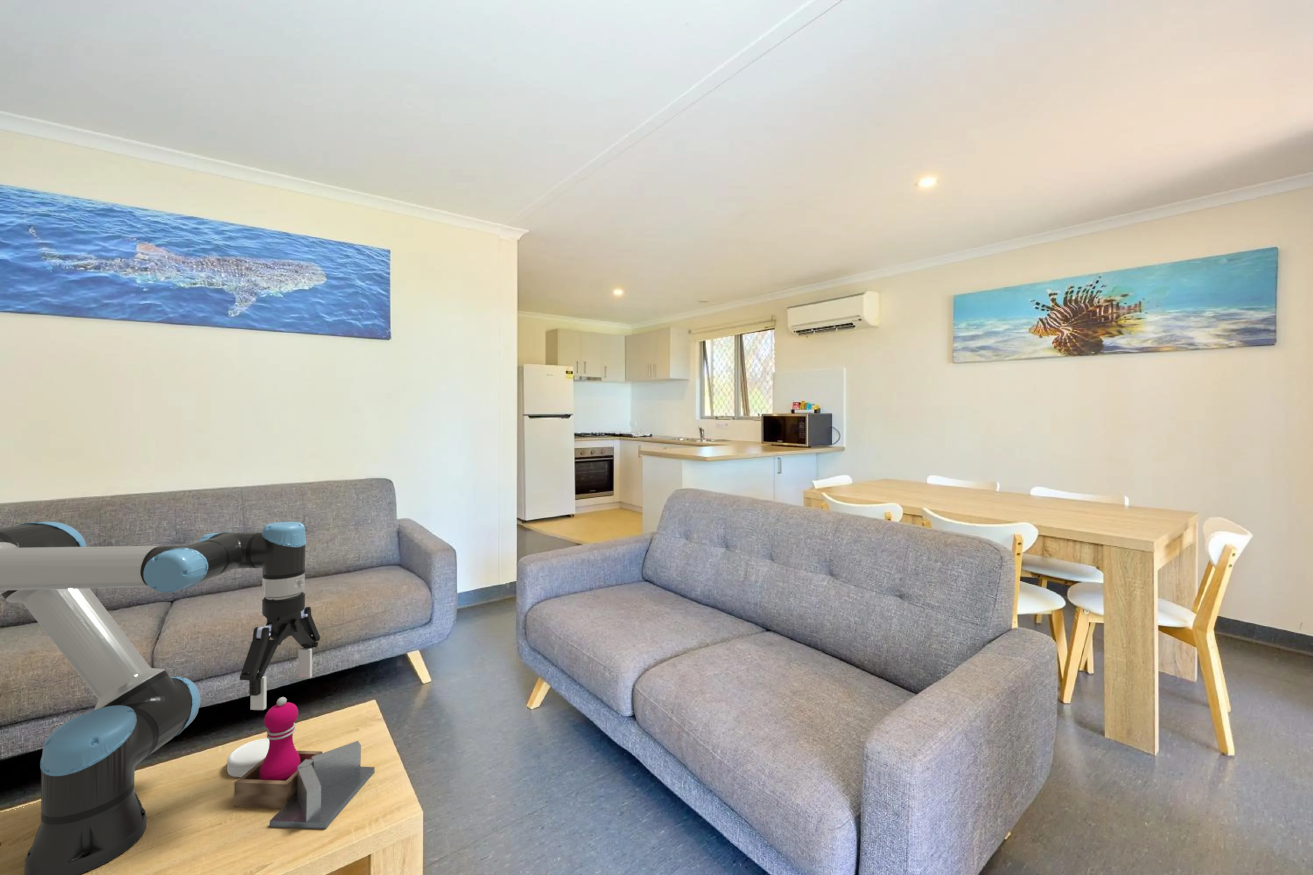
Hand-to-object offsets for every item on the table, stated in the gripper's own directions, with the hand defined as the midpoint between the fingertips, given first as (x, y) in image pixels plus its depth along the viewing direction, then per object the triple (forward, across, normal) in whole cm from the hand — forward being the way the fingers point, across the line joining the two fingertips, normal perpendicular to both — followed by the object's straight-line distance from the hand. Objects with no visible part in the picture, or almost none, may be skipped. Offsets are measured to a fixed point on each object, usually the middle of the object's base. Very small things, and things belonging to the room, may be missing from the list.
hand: (283, 692), depth 112 cm
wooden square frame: (+21, 0, 0) cm, 21 cm away
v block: (+21, -2, -11) cm, 24 cm away
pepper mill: (+21, 0, 0) cm, 21 cm away
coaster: (+22, +8, +12) cm, 26 cm away
